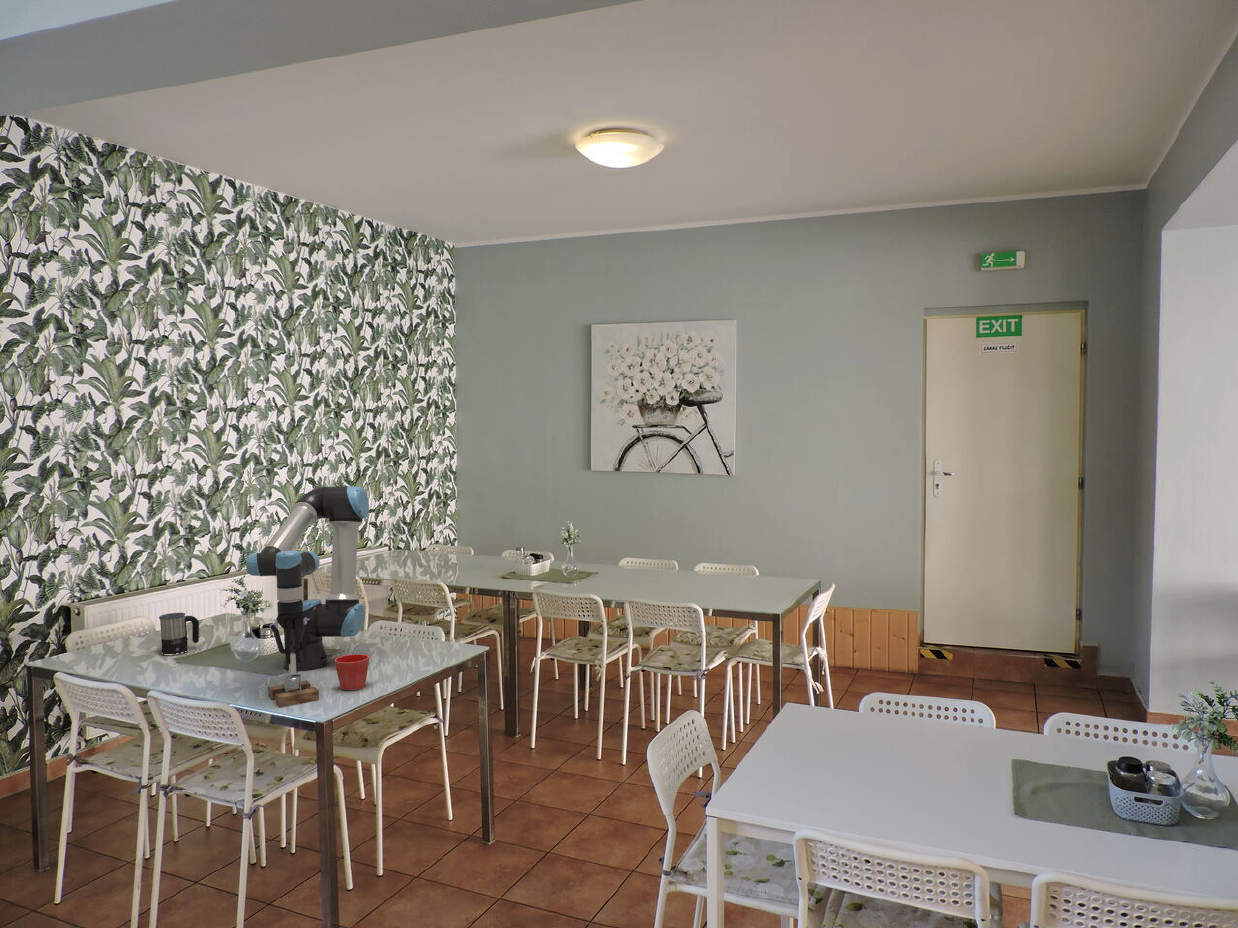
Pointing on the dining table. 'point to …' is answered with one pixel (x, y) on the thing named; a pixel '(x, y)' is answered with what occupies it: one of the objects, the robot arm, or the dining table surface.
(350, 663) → the flower pot
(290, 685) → the bushing
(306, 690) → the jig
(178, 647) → the milk frother
